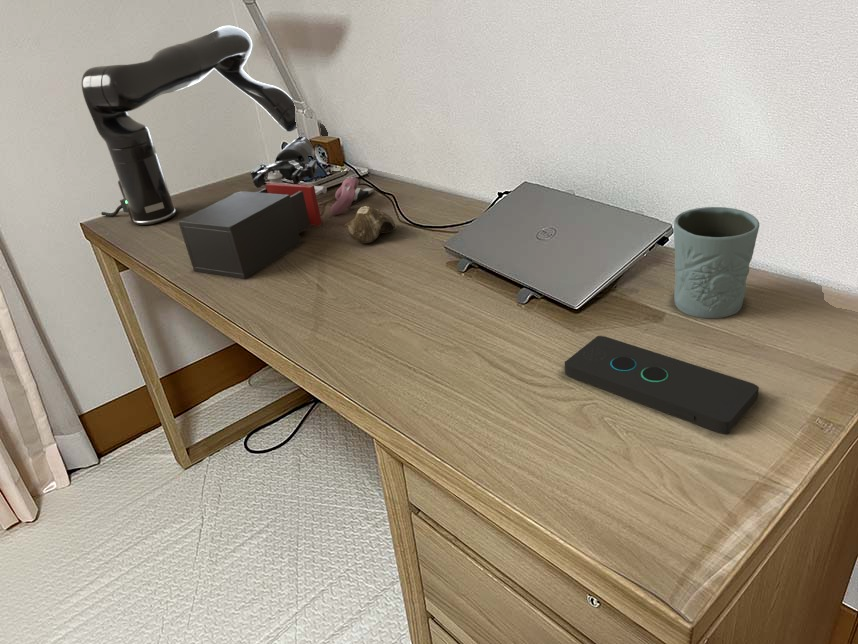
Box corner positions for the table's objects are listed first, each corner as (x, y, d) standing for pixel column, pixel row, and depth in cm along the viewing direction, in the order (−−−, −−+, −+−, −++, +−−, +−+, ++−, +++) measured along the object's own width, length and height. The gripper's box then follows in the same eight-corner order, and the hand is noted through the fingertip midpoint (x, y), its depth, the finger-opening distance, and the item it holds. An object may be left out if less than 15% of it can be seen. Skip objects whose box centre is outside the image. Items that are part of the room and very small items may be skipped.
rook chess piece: (295, 203, 154) (287, 168, 150) (286, 211, 150) (277, 175, 147) (278, 203, 156) (270, 169, 152) (268, 211, 152) (259, 175, 148)
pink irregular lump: (350, 221, 144) (359, 191, 140) (329, 214, 143) (337, 184, 140) (354, 203, 152) (363, 174, 149) (334, 197, 152) (342, 167, 148)
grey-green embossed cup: (692, 280, 100) (697, 201, 94) (763, 298, 93) (773, 214, 87) (655, 309, 94) (658, 227, 88) (728, 330, 87) (737, 242, 81)
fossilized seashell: (381, 210, 135) (338, 234, 132) (381, 188, 130) (336, 212, 126) (404, 236, 133) (360, 260, 129) (405, 214, 127) (360, 239, 123)
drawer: (296, 208, 148) (288, 172, 144) (340, 212, 142) (332, 175, 139) (229, 247, 133) (217, 208, 129) (274, 253, 127) (264, 212, 123)
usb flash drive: (350, 205, 148) (350, 201, 147) (332, 203, 150) (331, 199, 150) (374, 192, 154) (374, 187, 153) (356, 190, 156) (355, 186, 156)
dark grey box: (251, 237, 139) (239, 191, 134) (301, 243, 132) (289, 194, 128) (193, 271, 127) (177, 221, 122) (244, 279, 121) (230, 226, 116)
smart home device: (599, 332, 87) (761, 383, 74) (599, 344, 88) (760, 397, 75) (561, 363, 82) (727, 423, 69) (561, 375, 83) (726, 436, 70)
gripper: (328, 172, 164) (310, 195, 150) (271, 177, 167) (248, 200, 153) (321, 141, 161) (303, 161, 147) (263, 147, 163) (239, 167, 149)
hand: (275, 181), depth 150 cm, fingers open, 8 cm apart
